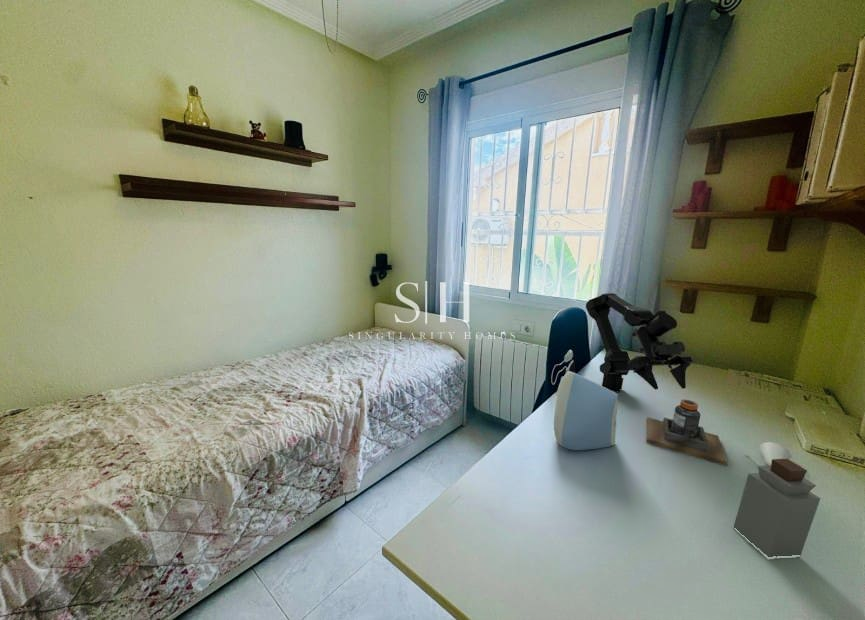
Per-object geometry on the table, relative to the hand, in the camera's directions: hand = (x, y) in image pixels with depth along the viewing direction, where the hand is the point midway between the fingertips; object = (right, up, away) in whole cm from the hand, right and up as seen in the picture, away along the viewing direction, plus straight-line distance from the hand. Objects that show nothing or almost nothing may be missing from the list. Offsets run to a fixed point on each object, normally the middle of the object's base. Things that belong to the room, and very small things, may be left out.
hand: (670, 388), depth 102 cm
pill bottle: (0, -13, -4) cm, 14 cm away
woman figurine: (+16, -18, -15) cm, 28 cm away
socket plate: (0, -14, -4) cm, 15 cm away
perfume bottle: (-7, -22, -36) cm, 43 cm away
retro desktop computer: (-29, -14, -2) cm, 32 cm away
